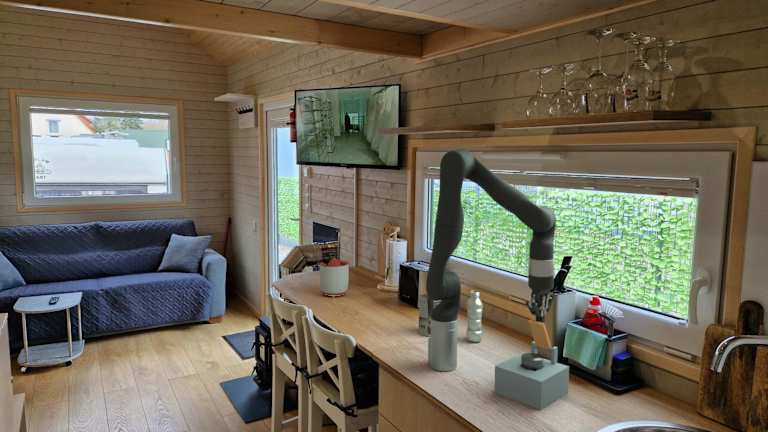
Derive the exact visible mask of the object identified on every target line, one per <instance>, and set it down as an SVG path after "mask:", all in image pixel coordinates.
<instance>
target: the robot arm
mask: <svg viewBox="0 0 768 432" xmlns="http://www.w3.org/2000/svg"><path fill="white" fill-rule="evenodd" d="M464 179H466V180H469V181H471V182H473V183H475V184H476V185H477V186H479V187H480V188H481V189H483V191H484V192H485V193H486V194H487V195H488V196H489V197H490V198H491V200H493V201H494V202H495V203H496V204H498V205H499V206H500V207H502V208H504V210H506V211H508V212H509V213H511V214H513V215H514V216H515V217H516V218H517V219H518V220H520V221H521V223H522V224H523V225H525V226H527V228H528V229H530V230H532V238H531V240H530V242H529V251H528V252H529V253H528V254H529V258H528V259H529V260H528V269H527V270H528V272H527V273H528V277H527V280H528V281H527V284H528V285H527V286H528V287H529V289H531V294H530V300H526V306H527V308H528V310H529V313H530V314H531V315H532V316H535V321H538V322H542V323H545V324H546V322H545V319H546V316H547V313H549V312H550V309H551V307H552V304H553V301H554V300H555V295H554V294H553V293H551V290H553V289H554V286H555V284H554V283H555V280H554V279H555V278H554V277H555V264H554V262H555V261H554V242H555V241H554V239H555V233H556V225H557V218H556V214H555V212H554V211H553V209H551V208H550V207H547V206H541V207H540V206H538V205H537V204H535V203H534V202H533V201H531V200H530V197H529V196H527V194H525V193H524V192H522V191H521V190H519V189H518V188H517V187H515V186H513V185H512V184H510V183H508V182H507V181H505V180H504V179H502V178H501V177H500V176H498V175H497V174H495V173H494V172H493V171H491V169H489V168H488V167H487V166H486V165H484V163H482V162H481V161H480V160H479V159H478V158H477V157H476V156H475V155H473V154H472V153H471V152H470V151H469V150H466V149H463V148H462V149H461V148H460V149H453V150H449V151H447V152H446V153H445V154H444V155H443V156H442V157H441V159H440V163H439V193H438V199H437V200H438V201H437V208H436V209H437V211H436V217H435V223H434V232H433V233H434V234H433V242H432V251H431V256H430V262H429V265H428V266H429V267H428V269H427V270H428V271H427V274H426V279H425V292H426V294H427V295H428V297H429V298H430V299H431V300H434V301H438V300H441V302H440V303H439V304H438V305H437V306H435V307H434V308H433V309H432V310H431V336H430V337H428V339H427V365H428V366H430V368H432V369H433V370H434V371H435V370H436V371H439V372H450V371H454V370H455V369H457V368H458V367H457V366H458V315H459V312H460V307H461V293H462V285H461V280H460V277H459V274H457V273H456V272H455V271H452V270H451V271H450V270H449V271H446V267H447V265H448V262H449V260H450V258H451V257H452V255H453V253H454V252H455V250H456V249H457V248H458V246H459V244H460V242H461V241H462V237H463V231H464V224H465V217H464V215H465V214H464V210H463V209H464V208H463V205H462V198H461V197H462V189H463V183H464Z"/></svg>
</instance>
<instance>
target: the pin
mask: <svg viewBox="0 0 768 432" xmlns="http://www.w3.org/2000/svg"><path fill="white" fill-rule="evenodd" d="M543 359H544V357H543V355H540V354H539V353H537V354H535V353H531V352H524V354H522V355H521V366H522V367H523V368H525V369H528V370H533V371H537V370H540V369H542V368H543Z"/></svg>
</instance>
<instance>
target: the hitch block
mask: <svg viewBox="0 0 768 432" xmlns="http://www.w3.org/2000/svg"><path fill="white" fill-rule="evenodd" d="M558 350H559V349H558V346H553V347H552V348H551V353H550V354H551V355H550V359H546V358H543V368H542V369H540V370H537V371H533V370H528V369H525V368H523V367H522V366H521V355H522V354H524V353H525V352H522V353H519V354H518V355H515V356H513V357H511V358H509V359H506V360H504V361H502V362H500V363H498V364H496V365H495V366H494V390H493V392H494V393H496V394H498V395H501V396H503V397H505V398H509V399H511V400H514V401H517V402H519V403H521V404H524V405H526V406H529V407H532V408H534V409H537V410H539V411H541V410H543V409H545V408H547V407H548V406H549V404H550V405H551V404H553V403H554V401H555V402H556V401H558V400H559V399H562V398H563V397H564V396H566V395H568V394H569V382H570V379H569V377H570V366H569V365H565V364H562V363H559V362H558V355H559V353H558ZM530 353H535V354H538V349H536V344H535V341H534V340H533V341H532V342H531V349H530Z"/></svg>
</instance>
